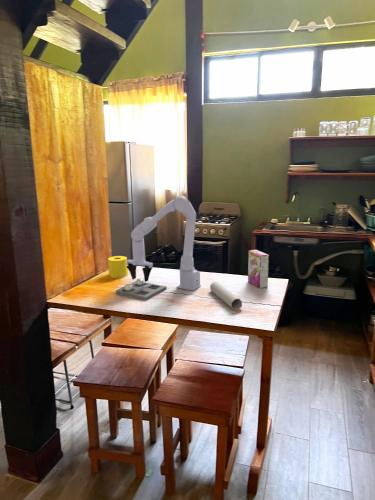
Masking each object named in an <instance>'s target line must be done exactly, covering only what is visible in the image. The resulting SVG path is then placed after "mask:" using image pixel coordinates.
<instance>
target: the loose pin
mask: <svg viewBox="0 0 375 500" xmlns="http://www.w3.org/2000/svg"><path fill="white" fill-rule="evenodd" d="M136 281H137V286H140V287H142V286H144V282H145V280H144V278H137V279H136Z"/></svg>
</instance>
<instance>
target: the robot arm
mask: <svg viewBox="0 0 375 500" xmlns="http://www.w3.org/2000/svg"><path fill="white" fill-rule="evenodd" d="M176 211H178V212H179V213H182V215H183V216H184V217H185V230H184V241H183V252H182V253H183V254H182V255H181V257H180V265H179V266H180V267H179V285H177V286H176V288H178V289H183V290H188V291H195V290H197V289H198V288H200V287H201V286H202V285H201V273H200V271H199V270H197V269H195V266H194V265H195V263H194V257H193V254H194V252H193V251H194V243H195V242H194V240H195V230H196V221H197V212H196V211H195V208H194V207H193V205H192V203H191V201H190V200H189V199H188V198H187V197H186V196H185V195H178V196H176V197H175V198H173V199H172V200H170V201H169V202H168V203H165V205H164V206H163V207H162V208H161V209H160V210H159V211H157V212H156V213H155V214H154V215H153V216H148V217H145V218H144V219H143V221H142V222H141V223H139V224H137V225H136V227H134V229H133V230H132V231H131V233H130V237H131V239H132V241H131V242H132V244H131V246H132V259H127V260H126V264H127V269H128V272H129V274H130V276H131V279H132V280H135V279H136V278H137V266H138V267H142V268H141V269H142V272H143V281H144V282H145V283H147V282H148V281H149V278H150V274H151V271H152V270H153V267H154V264H153V262H150V261H147V260H146V252H145V251H146V249H145V240H144V239H145V236H146V235H148V234H149V233H150V232H151V231H153V230H154V229H155V228H156V227H157V225H158V224H157V223H158V221H161V219H162V218H164V217H165V216H166V215H167V214H169V213H170V212H171V213H172V212H176Z"/></svg>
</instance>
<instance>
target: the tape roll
mask: <svg viewBox="0 0 375 500" xmlns="http://www.w3.org/2000/svg"><path fill="white" fill-rule="evenodd" d="M126 260H128V257H127V256H123V255H115V256H111V257H108V258H107V265H108V276H109V277H110V278H112V277H113V278H114V279H118V278H119V279H121V278H126V277H127V276H128V275H129V274H128V272H129V270H128V268H127V266H128V264H126Z"/></svg>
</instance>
